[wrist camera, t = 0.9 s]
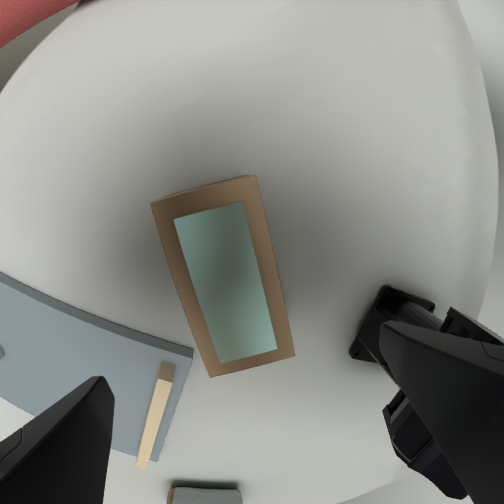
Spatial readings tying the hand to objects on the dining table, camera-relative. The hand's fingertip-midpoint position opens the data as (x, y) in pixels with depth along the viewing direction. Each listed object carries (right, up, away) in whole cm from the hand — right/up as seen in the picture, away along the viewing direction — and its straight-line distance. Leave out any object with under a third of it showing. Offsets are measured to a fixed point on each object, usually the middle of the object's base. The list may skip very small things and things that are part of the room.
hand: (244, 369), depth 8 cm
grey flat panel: (-15, -7, +12) cm, 20 cm away
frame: (-2, +3, +11) cm, 12 cm away
